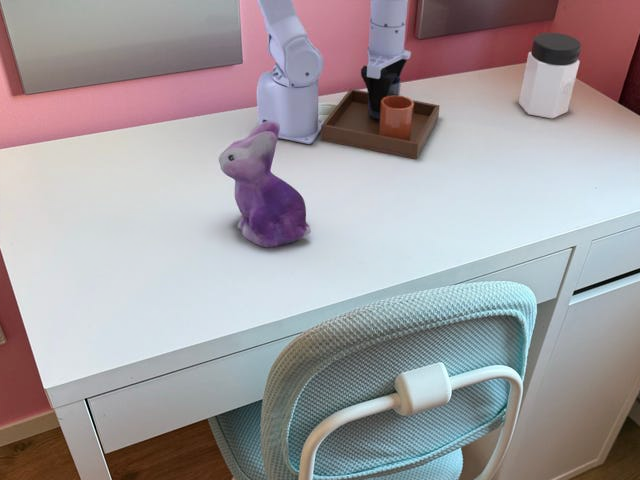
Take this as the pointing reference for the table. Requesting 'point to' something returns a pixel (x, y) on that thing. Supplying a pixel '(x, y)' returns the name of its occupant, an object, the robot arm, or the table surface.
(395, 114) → the orange cup
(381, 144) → the tray
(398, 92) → the blue cup
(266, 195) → the figurine
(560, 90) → the jar
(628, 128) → the table surface
